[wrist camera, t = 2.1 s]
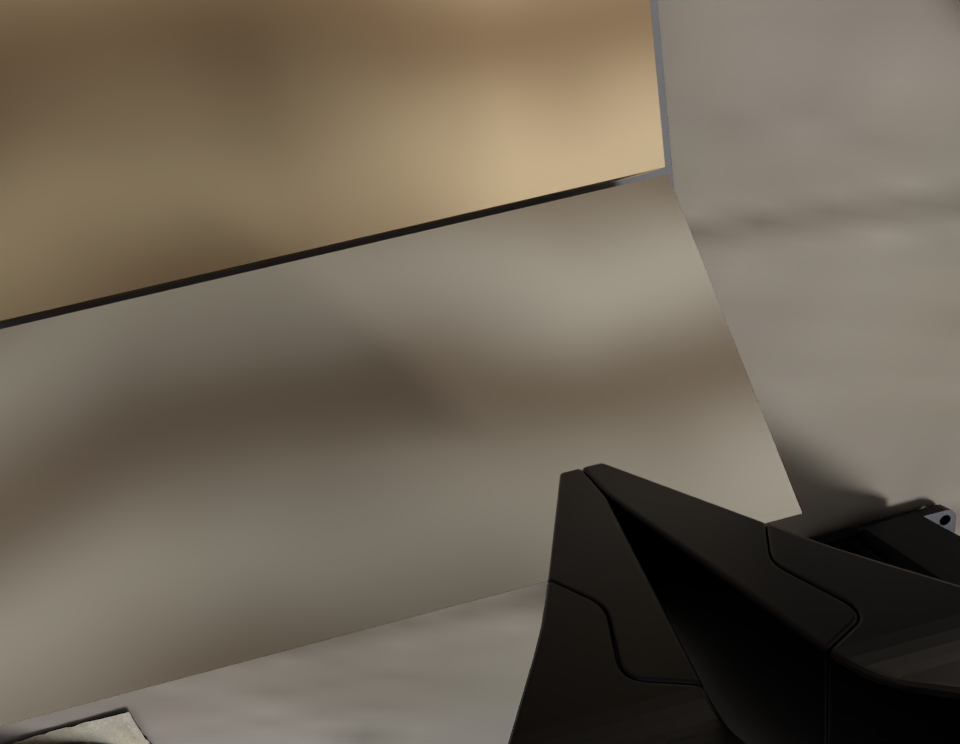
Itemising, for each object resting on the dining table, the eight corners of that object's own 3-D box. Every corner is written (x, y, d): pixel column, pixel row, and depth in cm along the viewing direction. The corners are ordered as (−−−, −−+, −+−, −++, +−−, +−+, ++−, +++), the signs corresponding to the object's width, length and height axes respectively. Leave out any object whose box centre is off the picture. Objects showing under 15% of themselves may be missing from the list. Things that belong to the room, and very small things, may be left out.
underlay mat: (685, 468, 18) (700, 481, 17) (127, 612, 17) (109, 634, 16) (605, -343, 11) (622, -397, 10) (-319, -171, 10) (-396, -214, 9)
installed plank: (640, 174, 14) (665, 166, 12) (-32, 330, 13) (-89, 341, 11) (598, -215, 11) (623, -284, 10) (-248, -50, 10) (-358, -97, 9)
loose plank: (762, 509, 12) (802, 513, 10) (-28, 717, 11) (-108, 754, 9) (648, 207, 14) (667, 174, 12) (-23, 364, 13) (-89, 349, 11)
